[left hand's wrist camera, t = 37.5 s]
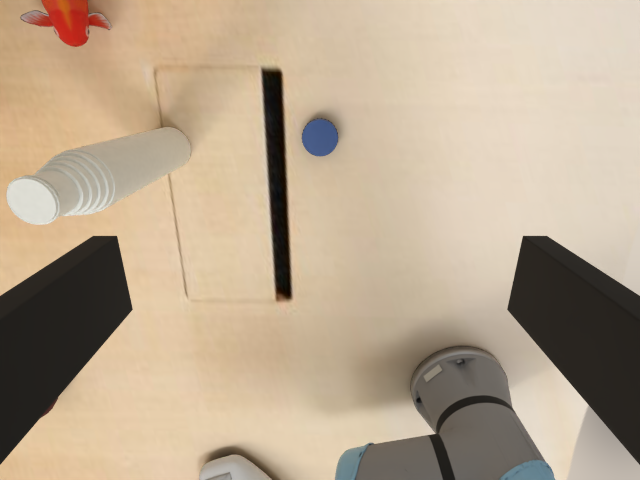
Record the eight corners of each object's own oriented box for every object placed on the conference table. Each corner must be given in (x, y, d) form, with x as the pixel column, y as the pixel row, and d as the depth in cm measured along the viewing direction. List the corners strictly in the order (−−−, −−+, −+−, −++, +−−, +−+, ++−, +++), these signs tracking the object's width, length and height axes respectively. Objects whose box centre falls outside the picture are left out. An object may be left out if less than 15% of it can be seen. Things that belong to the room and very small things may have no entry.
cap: (320, 110, 47) (320, 110, 45) (345, 137, 48) (345, 139, 47) (295, 135, 48) (294, 137, 47) (319, 161, 49) (319, 164, 48)
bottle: (199, 145, 49) (85, 198, 25) (176, 176, 50) (49, 252, 27) (164, 117, 47) (10, 145, 24) (142, 149, 49) (-23, 205, 25)
